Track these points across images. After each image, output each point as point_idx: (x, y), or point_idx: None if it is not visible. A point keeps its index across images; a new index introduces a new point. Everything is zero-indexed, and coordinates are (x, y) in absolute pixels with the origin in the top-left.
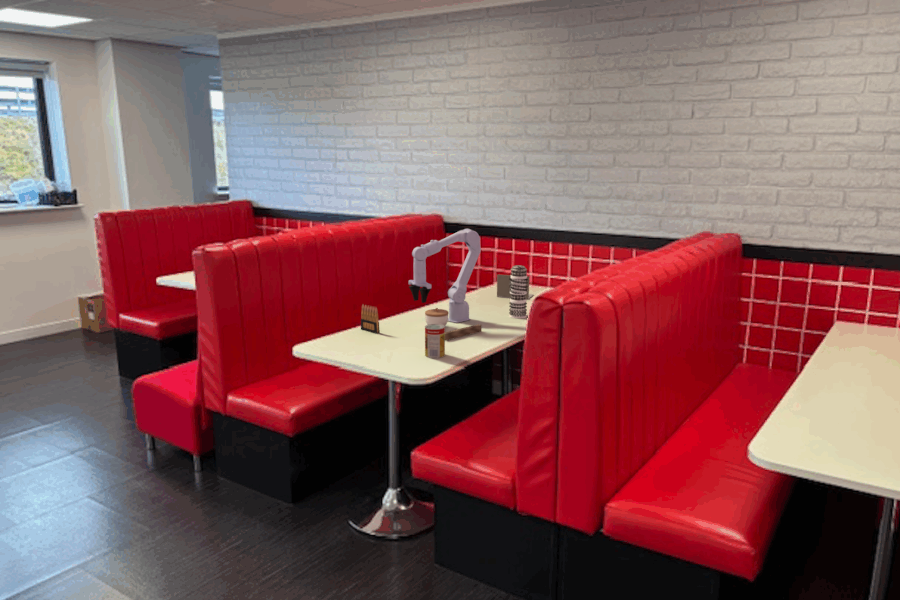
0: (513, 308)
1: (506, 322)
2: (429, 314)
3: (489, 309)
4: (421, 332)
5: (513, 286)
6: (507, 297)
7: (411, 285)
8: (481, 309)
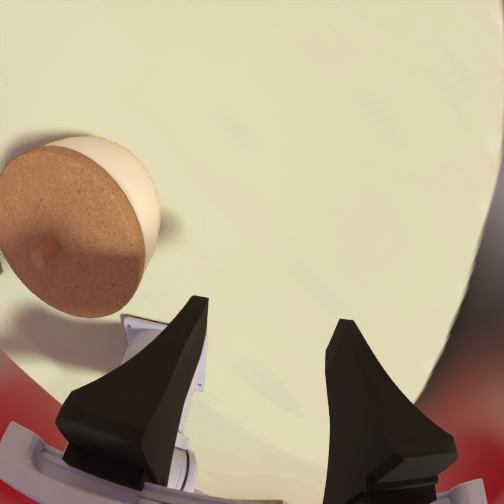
0: None
1: (57, 383)
2: (30, 150)
3: (209, 458)
4: (102, 53)
5: None
6: (258, 501)
7: (428, 483)
8: (227, 455)
